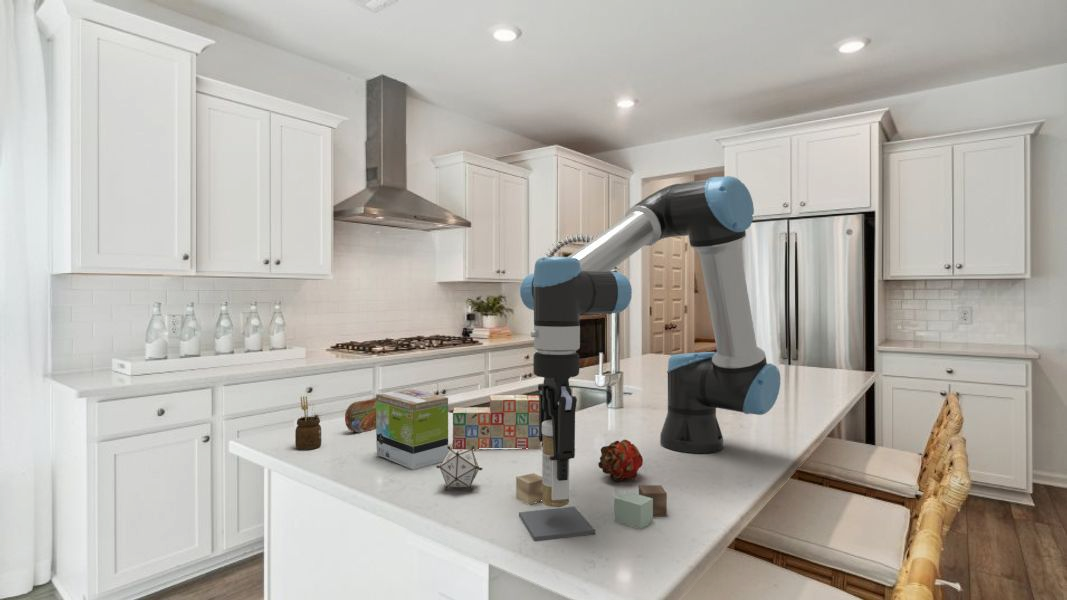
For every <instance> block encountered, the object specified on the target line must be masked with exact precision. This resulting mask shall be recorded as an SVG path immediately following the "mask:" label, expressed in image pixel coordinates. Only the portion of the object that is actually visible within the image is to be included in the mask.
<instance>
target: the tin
mask: <svg viewBox="0 0 1067 600" xmlns="http://www.w3.org/2000/svg"><path fill="white" fill-rule="evenodd" d="M344 422H345V425H346V428H347V429H348V430H350V431H351V432H353V433H359V434H362V433H367V432H370V431H372V430H373V431H374V430H376V397H373V398H367V399H364V400H359V401H355V402H353V403H350V405H349V406H348V407H347V409H346V410H345V414H344Z"/></svg>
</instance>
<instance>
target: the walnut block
mask: <svg viewBox="0 0 1067 600" xmlns="http://www.w3.org/2000/svg"><path fill="white" fill-rule="evenodd" d="M638 495H642V496H646V497H649V498H653V517H667V515H668V513H667V507H668V506H667V505H668V500H667V499H668V498H667V497H668V493H667V491H666V490H665V489H664V487H663V486H662V485H661V484H659V485H657V484H651V485H650V484H649V485H648V484H646V485H645V484H640V485H638Z"/></svg>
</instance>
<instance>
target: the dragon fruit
mask: <svg viewBox="0 0 1067 600" xmlns="http://www.w3.org/2000/svg"><path fill="white" fill-rule="evenodd" d="M640 452H641V451H640V450H639V448H638V446H636V445H635V444H634V443H632V442H631V441H630V440H628V439H622V440H615V441H613V442H611V443H610V444H609V445H607V446H602V447H601V448H600V453H601V455H600V457H599V462H598V464H597V465H598V468H599V469H602V472H603V473H604V474H606V475H610V478H611V479H612V480H615V481H616V482H621V481H623V480H624V478H626V479H628V480H633V481H634V480H636V479H637V476H638V470H639V469H641V468H642V466H643V462H644V459H643V455H642V454H641V453H640Z"/></svg>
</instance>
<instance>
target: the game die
mask: <svg viewBox="0 0 1067 600" xmlns="http://www.w3.org/2000/svg"><path fill="white" fill-rule="evenodd" d="M473 449H474V446H473V447H472V448H471V449H453V448H451V446H450V445H448V453H447V455H446V456H445V458H444V460H443V462H440V465H436V466H435V468H436V469H440V472H441V474H442V477H443V480H444V482H445V485H446V486H445V488H444V491H447V490H448V488H469V491H471V492H472V491H473V487H472V485H473V482H474V481H475V479H476V477H477V474H479V471H482V470H483V467H481V466H479V463H478V462H477V459H476V456H475V454H474V450H473Z"/></svg>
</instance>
